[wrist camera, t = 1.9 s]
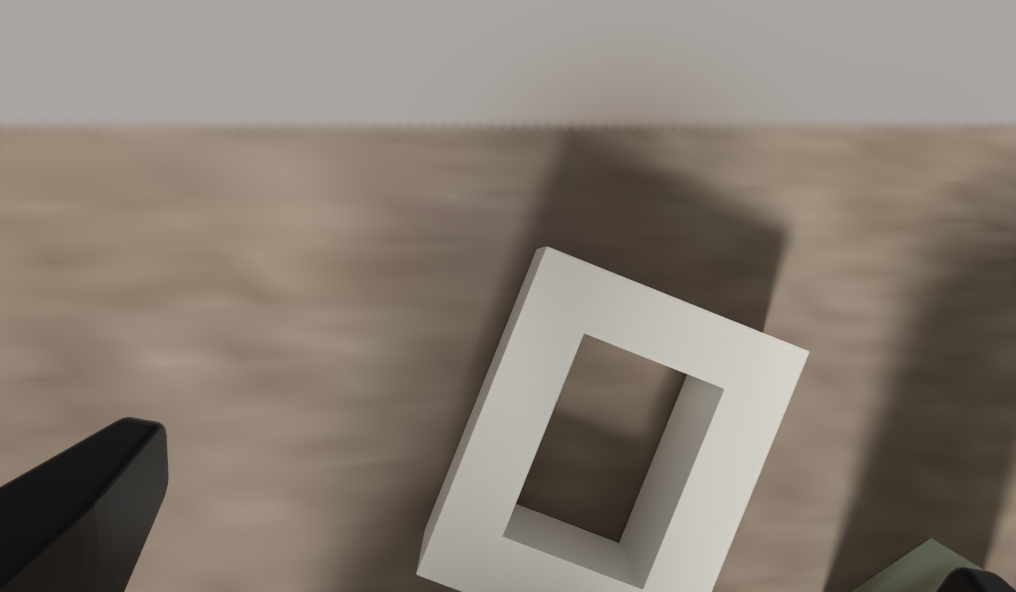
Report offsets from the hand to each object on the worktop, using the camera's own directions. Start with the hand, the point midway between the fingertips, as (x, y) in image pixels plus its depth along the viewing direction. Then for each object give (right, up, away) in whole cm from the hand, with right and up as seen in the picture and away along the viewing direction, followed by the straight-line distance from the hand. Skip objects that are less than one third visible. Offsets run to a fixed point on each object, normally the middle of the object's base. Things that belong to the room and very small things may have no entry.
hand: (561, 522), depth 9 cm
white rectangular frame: (+2, -2, +19) cm, 19 cm away
